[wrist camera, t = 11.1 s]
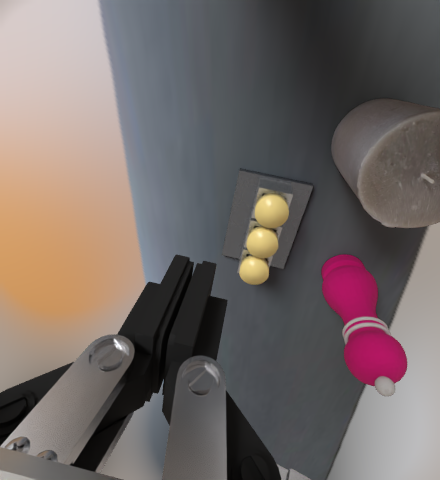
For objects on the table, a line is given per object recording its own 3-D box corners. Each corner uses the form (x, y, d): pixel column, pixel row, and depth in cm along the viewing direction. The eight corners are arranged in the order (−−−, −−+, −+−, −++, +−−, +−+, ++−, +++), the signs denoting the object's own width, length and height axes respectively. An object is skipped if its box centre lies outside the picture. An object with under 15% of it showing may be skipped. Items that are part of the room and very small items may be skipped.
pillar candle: (433, 105, 31) (545, 125, 18) (393, 187, 36) (458, 247, 23) (346, 91, 32) (394, 100, 19) (318, 173, 37) (342, 224, 24)
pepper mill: (359, 244, 41) (422, 364, 24) (372, 280, 44) (438, 410, 27) (311, 260, 44) (337, 378, 27) (326, 293, 46) (359, 419, 29)
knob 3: (245, 237, 42) (242, 258, 37) (272, 243, 42) (272, 264, 37) (240, 258, 44) (236, 281, 39) (265, 264, 44) (264, 287, 39)
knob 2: (252, 209, 39) (250, 228, 35) (280, 215, 39) (282, 235, 34) (246, 233, 41) (243, 254, 37) (273, 239, 41) (273, 261, 36)
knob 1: (260, 178, 37) (259, 194, 32) (290, 185, 37) (293, 201, 32) (253, 206, 39) (251, 224, 34) (281, 212, 39) (283, 231, 34)
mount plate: (240, 168, 38) (236, 180, 34) (312, 183, 38) (317, 197, 33) (222, 251, 45) (217, 269, 41) (283, 265, 45) (284, 285, 41)
